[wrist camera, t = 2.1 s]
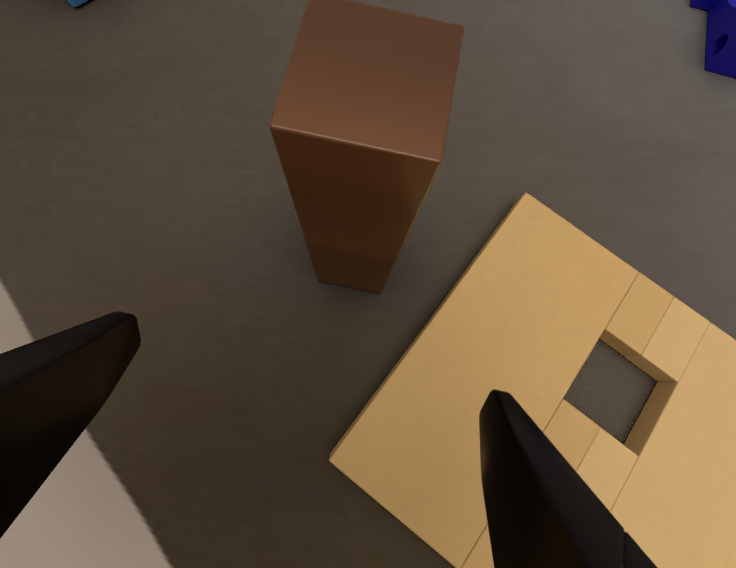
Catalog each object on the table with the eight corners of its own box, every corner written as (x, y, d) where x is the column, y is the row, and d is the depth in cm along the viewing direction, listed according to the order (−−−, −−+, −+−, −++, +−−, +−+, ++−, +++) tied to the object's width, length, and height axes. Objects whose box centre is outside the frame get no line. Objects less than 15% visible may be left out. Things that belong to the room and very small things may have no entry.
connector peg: (380, 294, 23) (441, 163, 8) (317, 281, 23) (267, 126, 8) (392, 235, 24) (465, 24, 9) (331, 223, 24) (309, -11, 9)
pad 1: (488, 588, 19) (500, 605, 18) (329, 454, 21) (327, 460, 19) (654, 300, 24) (674, 296, 22) (515, 201, 25) (526, 191, 23)
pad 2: (665, 736, 18) (693, 768, 17) (488, 588, 19) (500, 605, 18) (806, 408, 23) (837, 411, 21) (654, 300, 24) (674, 296, 22)
